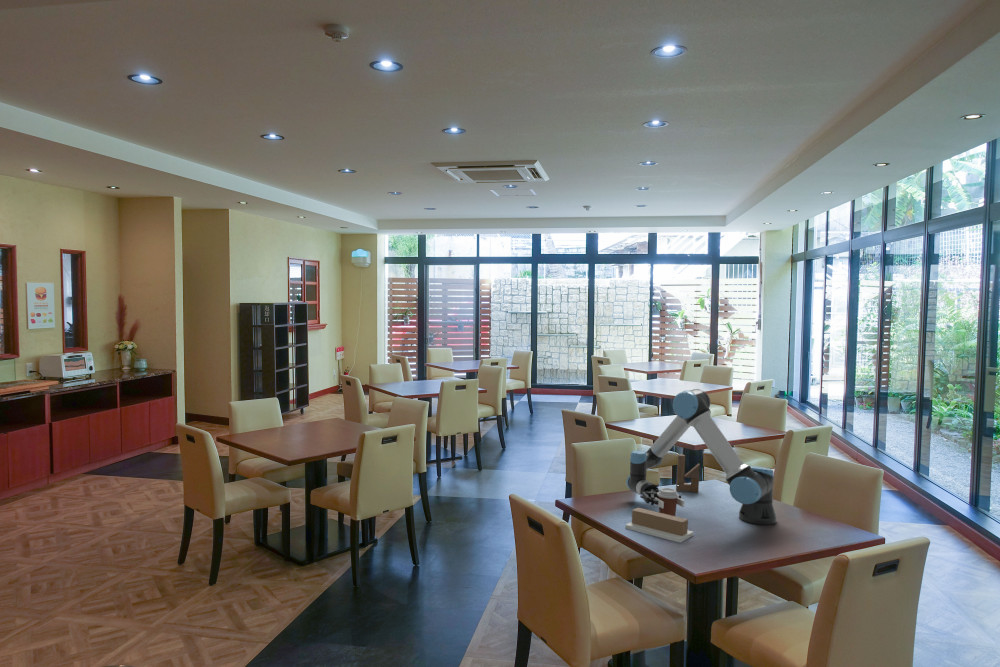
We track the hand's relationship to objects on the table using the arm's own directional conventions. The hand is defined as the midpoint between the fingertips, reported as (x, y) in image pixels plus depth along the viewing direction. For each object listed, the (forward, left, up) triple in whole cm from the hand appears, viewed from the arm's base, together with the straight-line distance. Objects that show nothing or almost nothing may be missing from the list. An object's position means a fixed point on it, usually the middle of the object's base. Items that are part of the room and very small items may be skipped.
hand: (673, 504), depth 274 cm
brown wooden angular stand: (+18, -55, -9) cm, 58 cm away
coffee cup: (+4, -3, -7) cm, 9 cm away
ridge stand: (0, +13, -8) cm, 16 cm away
